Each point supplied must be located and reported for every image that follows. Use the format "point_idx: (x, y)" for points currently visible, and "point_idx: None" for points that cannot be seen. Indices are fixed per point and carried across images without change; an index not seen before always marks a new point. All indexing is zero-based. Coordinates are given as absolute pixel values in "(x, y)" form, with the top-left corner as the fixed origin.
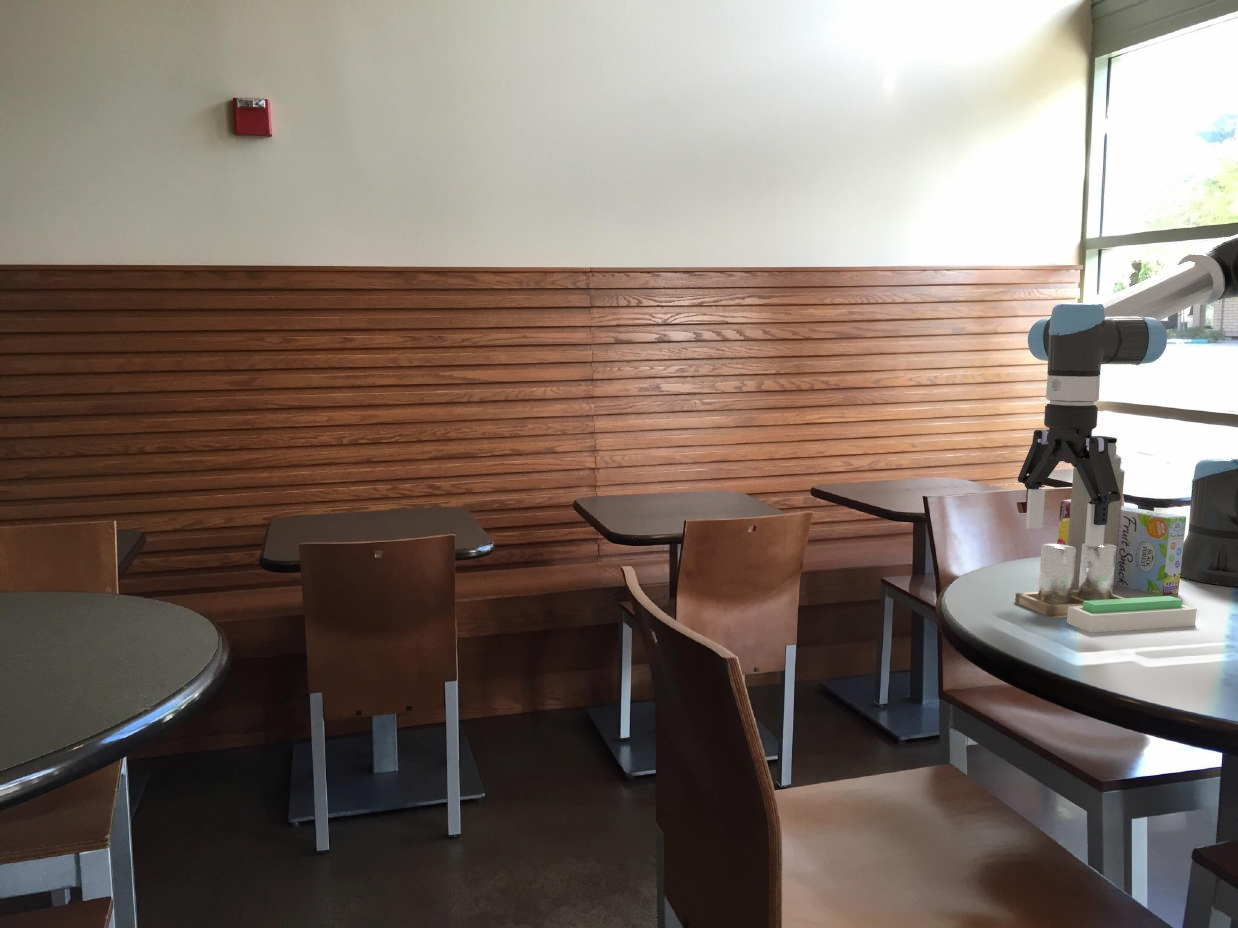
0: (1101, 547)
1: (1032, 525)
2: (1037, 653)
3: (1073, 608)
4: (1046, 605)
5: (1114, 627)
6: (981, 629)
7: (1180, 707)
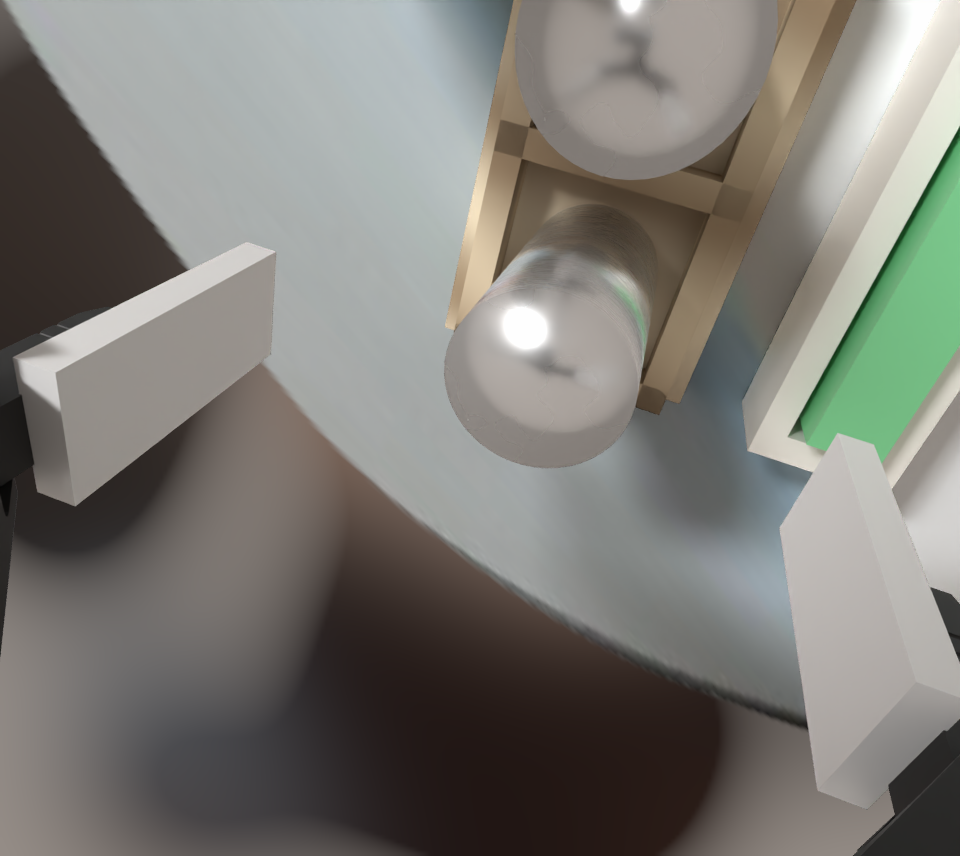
0: (697, 118)
1: (261, 339)
2: None
3: (777, 458)
4: None
5: None
6: (569, 577)
7: None
